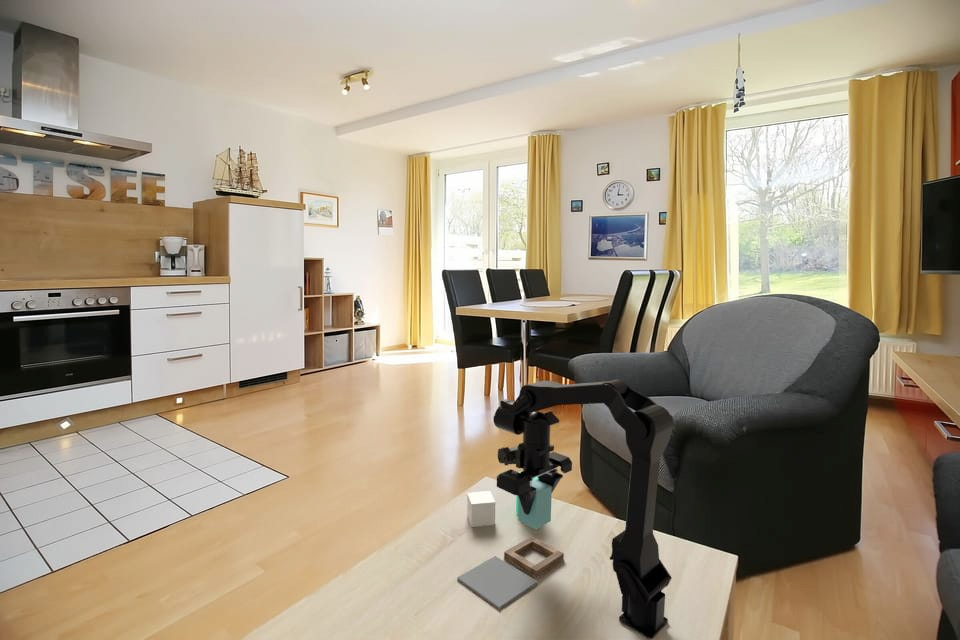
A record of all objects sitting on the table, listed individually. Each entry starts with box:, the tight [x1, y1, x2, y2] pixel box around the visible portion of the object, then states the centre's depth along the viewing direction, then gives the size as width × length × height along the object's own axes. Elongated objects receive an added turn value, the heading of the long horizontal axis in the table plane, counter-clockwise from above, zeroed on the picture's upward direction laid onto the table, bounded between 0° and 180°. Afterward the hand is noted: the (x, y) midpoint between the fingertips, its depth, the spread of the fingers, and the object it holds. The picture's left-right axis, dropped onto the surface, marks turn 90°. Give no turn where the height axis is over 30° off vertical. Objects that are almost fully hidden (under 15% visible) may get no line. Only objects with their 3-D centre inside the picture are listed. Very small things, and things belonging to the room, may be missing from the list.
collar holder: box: [503, 535, 565, 578], centre depth 110 cm, size 9×9×2 cm
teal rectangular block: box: [517, 479, 553, 530], centre depth 108 cm, size 5×5×8 cm
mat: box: [457, 555, 538, 610], centre depth 102 cm, size 12×11×1 cm
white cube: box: [466, 490, 496, 528], centre depth 126 cm, size 6×6×6 cm
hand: (534, 509), depth 108 cm, fingers closed on teal rectangular block, 5 cm apart
